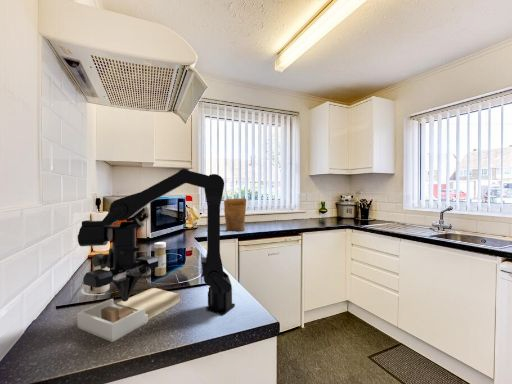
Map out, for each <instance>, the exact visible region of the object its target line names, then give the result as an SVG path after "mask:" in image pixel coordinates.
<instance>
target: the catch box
mask: <svg viewBox="0 0 512 384" xmlns="http://www.w3.org/2000/svg"><path fill="white" fill-rule="evenodd" d="M108 306H110V307H113V308H117V309H121V308H123V307H121V306H118V305H117V304H115V303H114V298H110V299H107V300H105V301H102V302H100V303H97V304H95V305H92V306H90V307H88V308H84V309H83V310H80V311H78V312H77V314H76V316H77V317H76V318H77V329H79V330H81V331H83V332H86V333H89V334H92V335H94V336H95V337H98V338H100V339H103V340H106V341H107V342H111V343H113V342H116V341H117V340H119V339H121V338H122V337H124V336H126V335H127V334H130V333H131V332H133V331H135V330H137V329H138V328H141V327H142V326H143V325H146V324H147V323H148V322H149V320H148V315H147V314H145V308H142V309H140V310H138V311H134V310H133V313H132V314H130V315H128V316H126V317H124V318H122V319H120V320H118V321H116V322H114V323H112V322H109V321H107V320H104V319H101V309H103V308H105V307H108ZM124 308H125V307H124Z"/></svg>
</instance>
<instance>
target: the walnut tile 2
mask: <svg viewBox="0 0 512 384" xmlns="http://www.w3.org/2000/svg"><path fill="white" fill-rule="evenodd" d="M132 313H133V310H131V309H128V308H124V307H123V308H121V309H119V320H120V319H122V318H124V317H126V316H128V315H130V314H132Z"/></svg>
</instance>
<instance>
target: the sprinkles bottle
mask: <svg viewBox="0 0 512 384" xmlns="http://www.w3.org/2000/svg"><path fill="white" fill-rule="evenodd" d="M166 247H167V243H166V242H165V241H158V242H154V243H153V249H154V257H156V258H157V260H158V267H156V268H154V276H156V277H162V276H165V275H167V267H166V266H167V254H166Z"/></svg>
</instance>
